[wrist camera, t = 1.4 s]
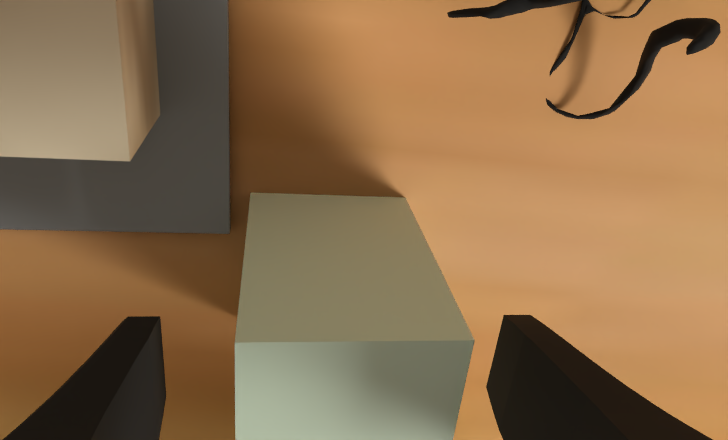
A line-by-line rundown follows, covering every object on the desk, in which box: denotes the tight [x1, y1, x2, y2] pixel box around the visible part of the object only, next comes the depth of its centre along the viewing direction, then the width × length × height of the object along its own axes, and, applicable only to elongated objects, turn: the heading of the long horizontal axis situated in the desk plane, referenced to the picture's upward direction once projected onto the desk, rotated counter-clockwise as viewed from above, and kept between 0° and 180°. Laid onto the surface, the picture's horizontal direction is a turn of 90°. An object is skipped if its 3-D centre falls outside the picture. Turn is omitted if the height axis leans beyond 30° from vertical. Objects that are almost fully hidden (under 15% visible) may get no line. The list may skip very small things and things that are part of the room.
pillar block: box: [235, 193, 474, 440], centre depth 13 cm, size 4×4×6 cm
